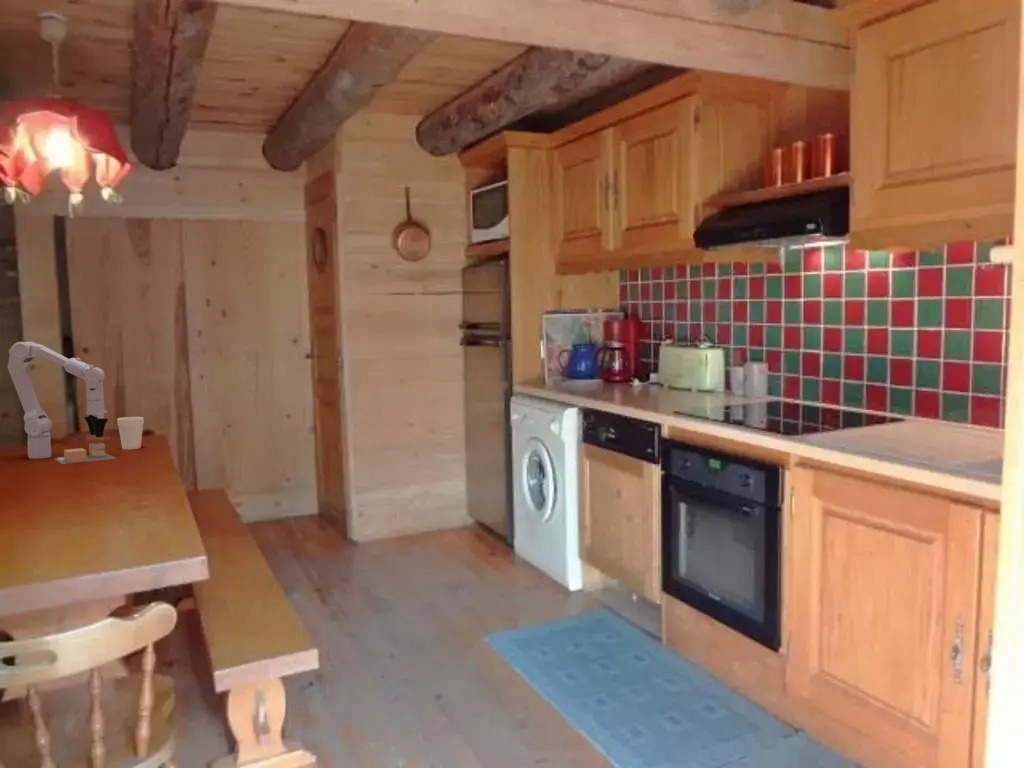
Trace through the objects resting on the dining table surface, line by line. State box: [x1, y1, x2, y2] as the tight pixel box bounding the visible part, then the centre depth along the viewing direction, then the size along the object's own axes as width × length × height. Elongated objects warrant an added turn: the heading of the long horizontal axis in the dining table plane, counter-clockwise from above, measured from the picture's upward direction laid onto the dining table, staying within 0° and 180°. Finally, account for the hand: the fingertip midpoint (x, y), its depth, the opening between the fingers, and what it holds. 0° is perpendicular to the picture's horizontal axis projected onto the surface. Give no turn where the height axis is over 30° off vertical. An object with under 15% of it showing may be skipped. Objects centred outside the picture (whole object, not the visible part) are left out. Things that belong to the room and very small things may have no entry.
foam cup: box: [116, 416, 145, 450], centre depth 318 cm, size 10×9×13 cm
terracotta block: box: [63, 447, 88, 464], centre depth 289 cm, size 6×6×4 cm
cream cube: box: [88, 442, 106, 457], centre depth 300 cm, size 4×4×4 cm
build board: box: [53, 452, 117, 465], centre depth 294 cm, size 14×18×1 cm
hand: (96, 435), depth 300 cm, fingers open, 7 cm apart
